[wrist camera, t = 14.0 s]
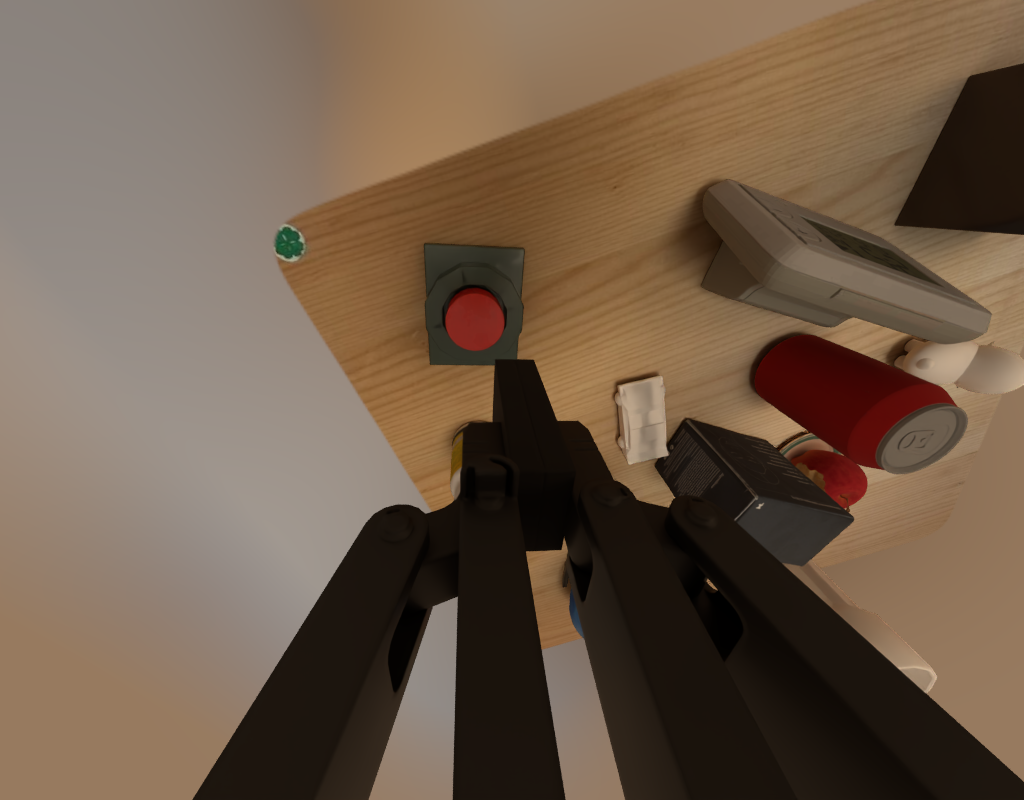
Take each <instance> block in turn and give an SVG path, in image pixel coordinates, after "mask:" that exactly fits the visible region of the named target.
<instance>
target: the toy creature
mask: <svg viewBox="0 0 1024 800" xmlns="http://www.w3.org/2000/svg"><path fill="white" fill-rule="evenodd" d="M993 343H994V341H993V342H992V343H990V344H988V345H980V346H979V345H978V344H976V343H974V342H973V341H967V342H962V343H956V344H939V343H936V342H932V341H927V342H925V343H924V342H921V341H918V340H915V339H913V340H910V341H909V342H908V343H907V344H906V345H905V347H904V350H905V351H907V352H909V353H908V354H907V355H906V356H905V355H901V356H899V357H898V358H897V359H896V360H895V362H894V365H895V366H896V367H899V368H901V369H904V371H905V372H907V373H909V374H912V375H914V376H916V377H919V378H921V379H924V380H926V381H928V382H931V383H933V384H935V385H939V384H949V383H954V384H956V386H957V388H958V387H961V388H963V389H966V390H969V391H972V392H977V393H982V394H1001V393H1007V392H1010V391H1013V390H1016V389H1018V388H1019V387H1021V386H1023V385H1024V359H1023V358H1022V357H1021V356H1019V355H1018V354H1016V353H1014V352H1012V351H1010V350H1007V349H1004V348H1000V347H996V346H993Z"/></svg>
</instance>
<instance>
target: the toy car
mask: <svg viewBox="0 0 1024 800" xmlns="http://www.w3.org/2000/svg"><path fill="white" fill-rule="evenodd" d="M617 388H618V392H617V393H616V395H615V402H616V403H617V404H618V413H619V426H620V435H621V436H620V437H619V438H618V445H619V446H620V447H621V448H622V453H623V454H624V456H625V458H626V460H627V462H628V464H629V465H630V464H634V463H638V462H643V461H647V460H651V459H655V458H660V457H664V456H668V451H667V447H666V417H665V402H664V396H665V391H666V389H665V386H664V385H663V376H655V377H651V378H647V379H642V380H638V381H634V382H630V383H625V384H621V385H617Z"/></svg>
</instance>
